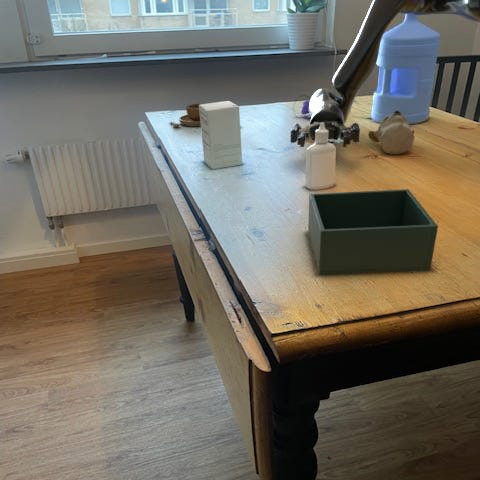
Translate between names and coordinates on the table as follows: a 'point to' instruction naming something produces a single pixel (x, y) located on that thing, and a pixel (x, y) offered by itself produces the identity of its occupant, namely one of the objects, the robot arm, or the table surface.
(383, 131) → the ceramic sculpture
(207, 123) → the white packaging box
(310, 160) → the eye dropper bottle
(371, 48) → the robot arm
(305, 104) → the game controller
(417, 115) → the water jug
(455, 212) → the table surface
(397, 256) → the storage bin
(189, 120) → the place setting
